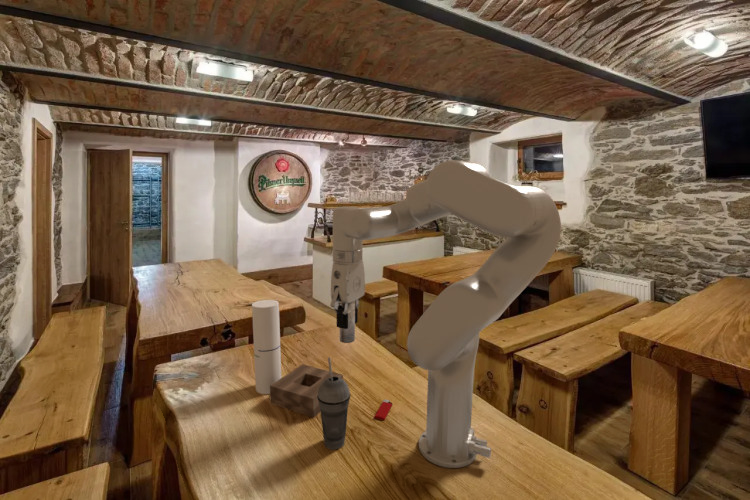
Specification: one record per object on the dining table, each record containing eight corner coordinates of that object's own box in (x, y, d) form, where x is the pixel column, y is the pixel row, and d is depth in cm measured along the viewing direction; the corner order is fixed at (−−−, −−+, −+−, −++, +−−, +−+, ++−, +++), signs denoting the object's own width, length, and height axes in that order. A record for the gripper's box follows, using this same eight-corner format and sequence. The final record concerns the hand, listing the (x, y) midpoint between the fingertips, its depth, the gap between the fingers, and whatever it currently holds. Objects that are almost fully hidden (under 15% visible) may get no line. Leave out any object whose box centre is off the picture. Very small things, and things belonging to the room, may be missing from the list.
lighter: (373, 415, 94) (383, 398, 102) (373, 420, 95) (383, 403, 102) (384, 417, 94) (393, 400, 101) (384, 422, 94) (393, 405, 101)
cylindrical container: (274, 395, 105) (271, 308, 101) (251, 392, 106) (246, 306, 102) (285, 382, 112) (283, 300, 108) (263, 380, 113) (260, 299, 109)
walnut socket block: (343, 391, 107) (342, 374, 106) (313, 417, 95) (313, 398, 94) (303, 379, 113) (302, 364, 112) (270, 403, 101) (269, 385, 100)
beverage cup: (337, 458, 80) (336, 370, 77) (311, 446, 84) (309, 361, 81) (357, 439, 86) (356, 356, 83) (331, 429, 90) (330, 349, 87)
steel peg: (357, 338, 100) (358, 295, 98) (349, 344, 97) (350, 298, 95) (344, 335, 102) (344, 292, 100) (336, 341, 99) (336, 296, 97)
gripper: (342, 263, 87) (342, 338, 90) (375, 252, 101) (374, 317, 105) (315, 259, 90) (316, 332, 93) (351, 250, 105) (351, 313, 108)
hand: (347, 324), depth 99 cm, fingers closed on steel peg, 4 cm apart
